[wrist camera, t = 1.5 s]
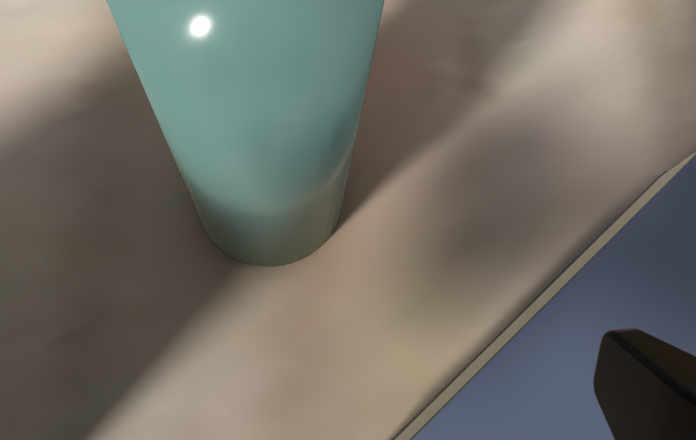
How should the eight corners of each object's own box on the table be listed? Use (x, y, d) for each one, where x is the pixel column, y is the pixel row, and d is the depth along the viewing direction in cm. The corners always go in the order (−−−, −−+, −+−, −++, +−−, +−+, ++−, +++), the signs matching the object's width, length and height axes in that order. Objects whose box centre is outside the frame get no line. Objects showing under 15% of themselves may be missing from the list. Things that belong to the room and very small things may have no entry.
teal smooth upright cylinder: (371, 204, 23) (454, -45, 11) (260, 296, 21) (219, 123, 10) (279, 107, 24) (265, -216, 12) (167, 188, 22) (27, -87, 11)
